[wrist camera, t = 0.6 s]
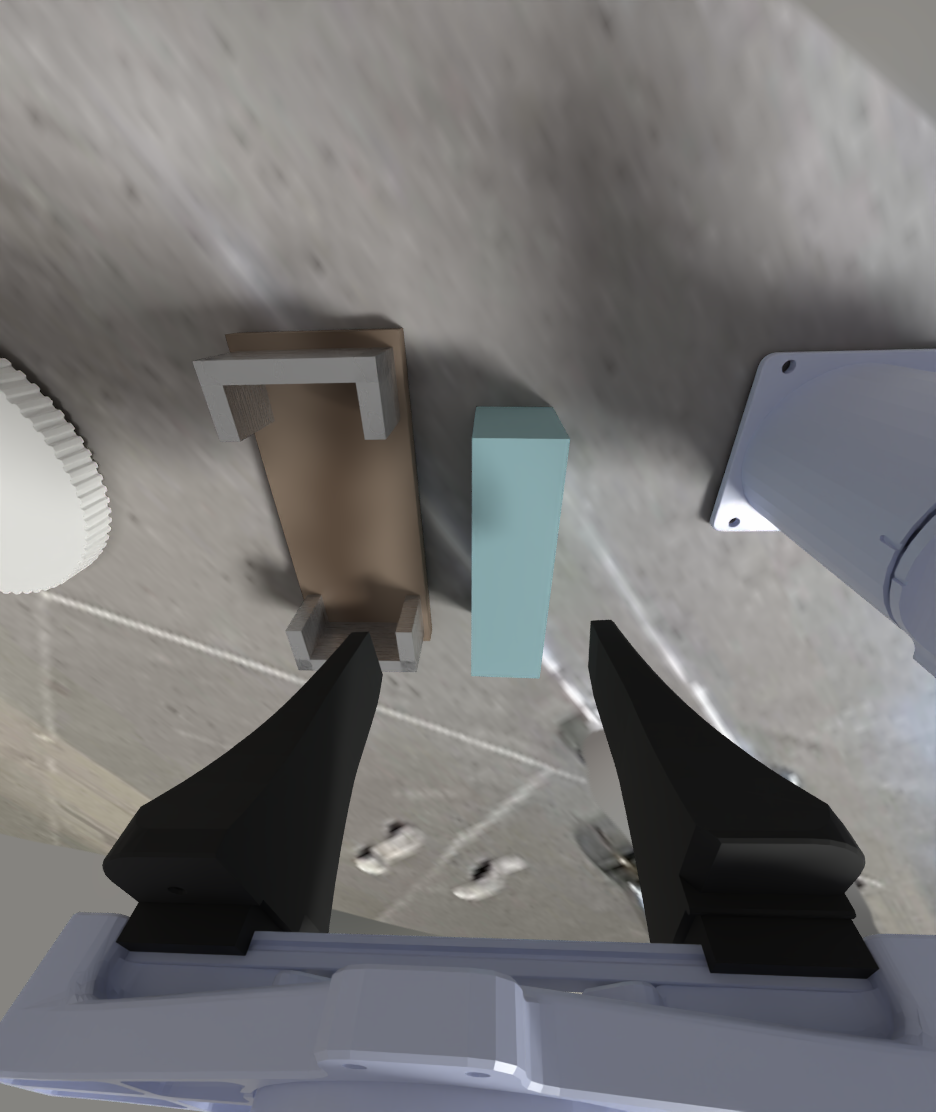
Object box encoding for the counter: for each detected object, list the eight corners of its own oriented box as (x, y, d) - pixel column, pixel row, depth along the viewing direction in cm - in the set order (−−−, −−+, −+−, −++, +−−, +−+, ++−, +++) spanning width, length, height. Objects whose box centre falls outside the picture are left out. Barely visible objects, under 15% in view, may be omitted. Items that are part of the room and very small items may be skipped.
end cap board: (403, 328, 17) (398, 329, 16) (432, 629, 26) (430, 640, 25) (237, 332, 17) (225, 334, 17) (321, 628, 26) (315, 639, 25)
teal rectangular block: (552, 406, 19) (570, 439, 14) (531, 613, 25) (539, 678, 21) (476, 405, 19) (472, 438, 15) (474, 611, 25) (471, 675, 21)
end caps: (392, 347, 17) (375, 356, 14) (424, 633, 25) (416, 672, 22) (236, 351, 17) (192, 361, 14) (318, 632, 25) (298, 670, 22)
